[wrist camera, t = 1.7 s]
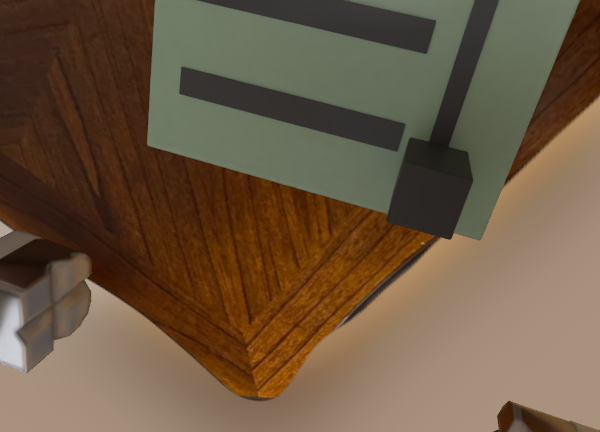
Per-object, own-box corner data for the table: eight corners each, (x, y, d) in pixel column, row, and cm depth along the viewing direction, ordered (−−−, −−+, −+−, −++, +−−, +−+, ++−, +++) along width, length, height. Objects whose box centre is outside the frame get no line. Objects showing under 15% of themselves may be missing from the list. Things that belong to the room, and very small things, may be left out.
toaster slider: (468, 151, 20) (474, 180, 16) (449, 204, 21) (450, 241, 17) (409, 136, 20) (404, 161, 17) (393, 189, 21) (385, 222, 18)
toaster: (526, -23, 29) (598, -42, 16) (464, 148, 34) (480, 242, 21) (277, -73, 32) (159, -127, 18) (252, 93, 37) (145, 146, 23)
